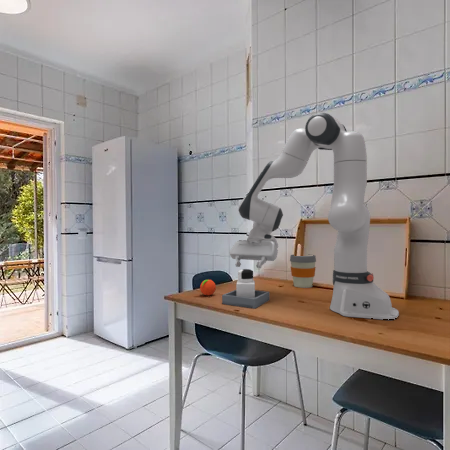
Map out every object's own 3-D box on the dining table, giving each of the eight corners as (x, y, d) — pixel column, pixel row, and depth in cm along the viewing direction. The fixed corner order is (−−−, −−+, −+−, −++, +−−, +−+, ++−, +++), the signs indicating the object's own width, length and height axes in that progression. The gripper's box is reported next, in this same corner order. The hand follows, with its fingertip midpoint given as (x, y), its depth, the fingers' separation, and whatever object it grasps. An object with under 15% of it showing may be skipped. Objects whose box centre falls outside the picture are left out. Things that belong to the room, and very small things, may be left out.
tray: (269, 300, 133) (269, 291, 132) (254, 308, 121) (254, 299, 120) (239, 296, 140) (239, 288, 140) (222, 303, 128) (222, 295, 128)
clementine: (209, 298, 137) (208, 281, 137) (195, 296, 140) (195, 280, 140) (218, 294, 144) (218, 278, 144) (205, 293, 147) (205, 277, 147)
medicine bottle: (254, 297, 133) (254, 268, 133) (254, 302, 126) (254, 271, 126) (237, 297, 134) (237, 268, 134) (236, 301, 127) (236, 271, 127)
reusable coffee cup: (320, 285, 161) (320, 255, 161) (308, 289, 152) (307, 257, 152) (298, 282, 170) (298, 253, 170) (285, 286, 161) (284, 255, 161)
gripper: (233, 235, 142) (222, 260, 134) (277, 236, 132) (268, 263, 124) (238, 245, 146) (228, 269, 138) (281, 246, 136) (273, 273, 128)
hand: (247, 266), depth 131 cm, fingers open, 8 cm apart
